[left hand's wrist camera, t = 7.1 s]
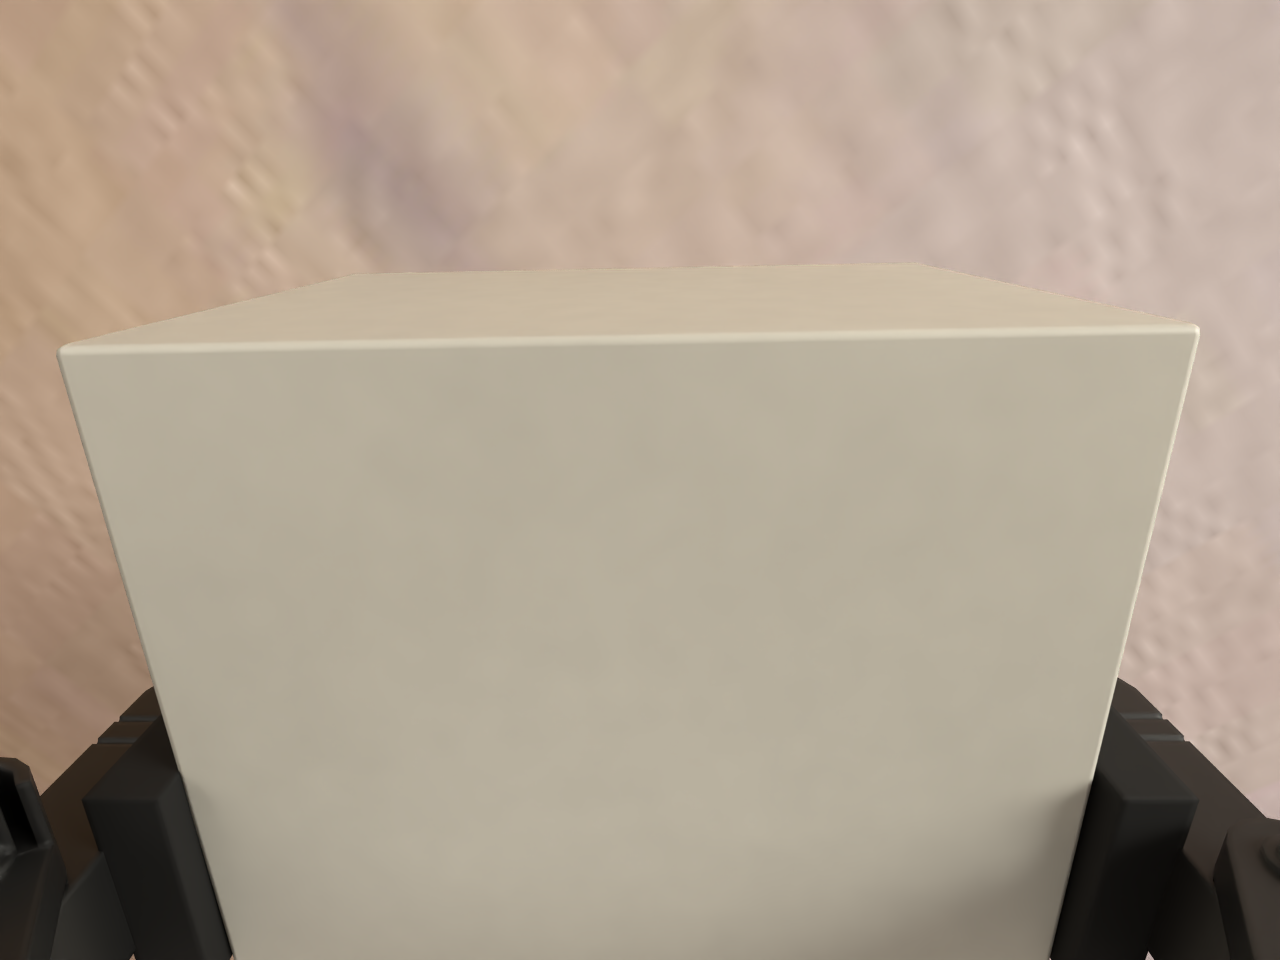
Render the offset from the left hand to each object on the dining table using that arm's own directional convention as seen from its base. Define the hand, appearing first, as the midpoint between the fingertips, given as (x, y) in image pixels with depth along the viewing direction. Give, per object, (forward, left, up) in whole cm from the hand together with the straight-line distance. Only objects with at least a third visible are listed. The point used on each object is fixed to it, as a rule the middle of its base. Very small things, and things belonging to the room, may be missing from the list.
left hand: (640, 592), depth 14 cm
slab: (+21, -4, -1) cm, 22 cm away
